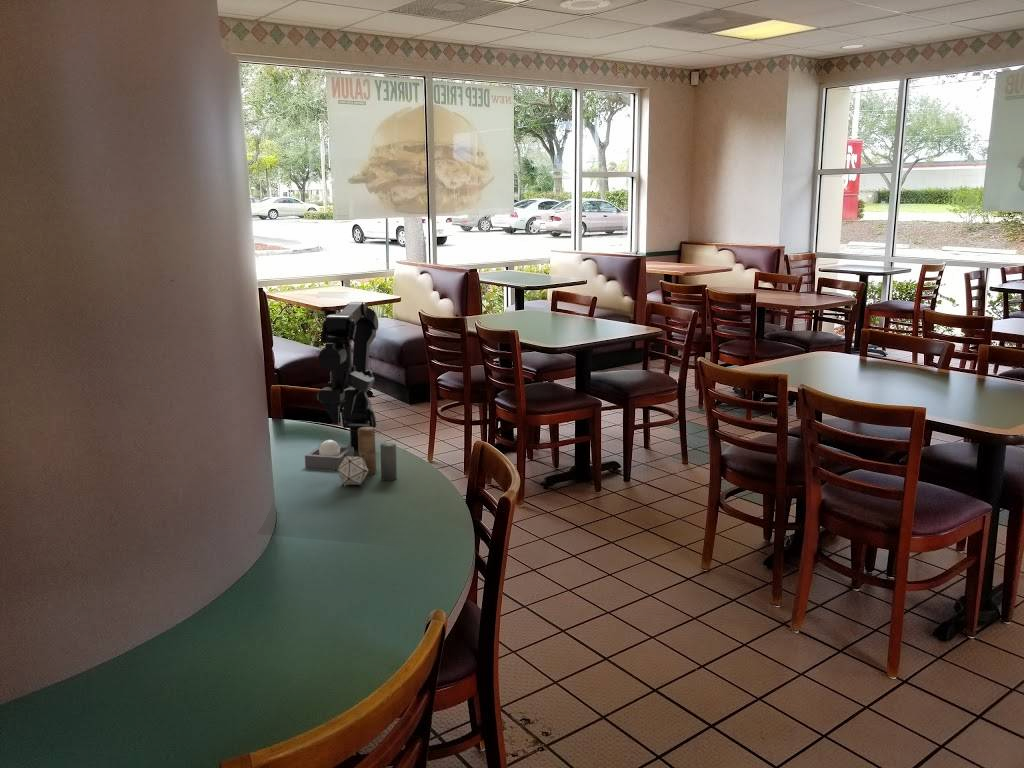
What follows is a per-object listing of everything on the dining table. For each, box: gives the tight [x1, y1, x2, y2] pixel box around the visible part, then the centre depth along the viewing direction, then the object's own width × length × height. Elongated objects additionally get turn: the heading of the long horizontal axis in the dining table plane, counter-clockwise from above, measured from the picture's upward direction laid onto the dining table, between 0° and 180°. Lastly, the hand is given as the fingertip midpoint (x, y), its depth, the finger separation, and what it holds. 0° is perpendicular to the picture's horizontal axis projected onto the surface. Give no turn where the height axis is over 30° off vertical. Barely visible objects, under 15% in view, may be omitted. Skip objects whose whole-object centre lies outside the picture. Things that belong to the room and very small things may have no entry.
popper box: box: [304, 444, 355, 470], centre depth 227 cm, size 10×10×3 cm
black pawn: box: [380, 442, 398, 481], centre depth 215 cm, size 4×4×9 cm
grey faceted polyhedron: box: [333, 454, 372, 488], centre depth 209 cm, size 9×8×10 cm
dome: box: [319, 439, 340, 456], centre depth 227 cm, size 6×6×6 cm
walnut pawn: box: [357, 427, 377, 476], centre depth 218 cm, size 4×4×12 cm
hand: (342, 419), depth 222 cm, fingers open, 9 cm apart
